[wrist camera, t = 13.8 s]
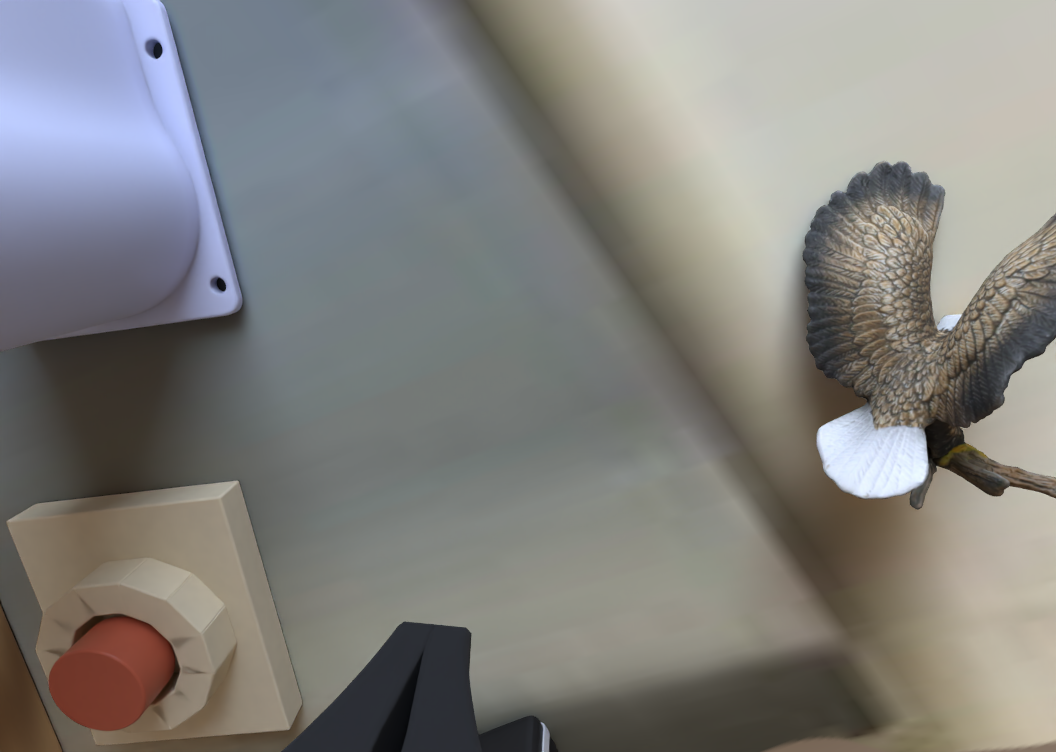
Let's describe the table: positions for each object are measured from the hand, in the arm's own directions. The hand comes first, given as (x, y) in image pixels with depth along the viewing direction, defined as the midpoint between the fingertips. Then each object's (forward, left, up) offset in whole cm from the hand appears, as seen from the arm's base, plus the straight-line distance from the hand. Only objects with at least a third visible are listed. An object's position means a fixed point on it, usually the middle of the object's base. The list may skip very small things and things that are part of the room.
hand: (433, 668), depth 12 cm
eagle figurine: (-3, +14, -11) cm, 18 cm away
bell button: (+5, -13, -8) cm, 16 cm away
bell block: (+5, -13, -10) cm, 18 cm away
